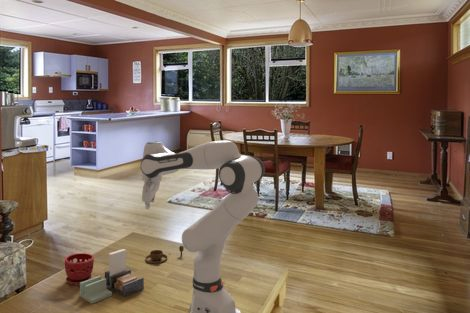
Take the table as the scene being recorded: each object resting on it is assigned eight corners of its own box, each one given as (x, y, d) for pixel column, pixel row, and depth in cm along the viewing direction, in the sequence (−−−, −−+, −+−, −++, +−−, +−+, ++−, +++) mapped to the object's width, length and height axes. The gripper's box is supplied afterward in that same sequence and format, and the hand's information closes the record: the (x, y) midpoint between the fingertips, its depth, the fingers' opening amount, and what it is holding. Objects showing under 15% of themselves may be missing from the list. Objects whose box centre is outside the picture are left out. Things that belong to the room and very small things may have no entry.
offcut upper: (137, 281, 186) (136, 277, 185) (124, 286, 180) (124, 282, 180) (129, 277, 189) (129, 273, 189) (116, 282, 184) (116, 278, 184)
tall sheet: (126, 279, 192) (125, 249, 190) (112, 285, 186) (111, 254, 184) (124, 278, 193) (123, 248, 191) (109, 283, 187) (108, 253, 185)
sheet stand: (112, 295, 179) (111, 281, 178) (91, 303, 172) (91, 289, 171) (99, 288, 186) (99, 275, 185) (79, 296, 178) (79, 282, 177)
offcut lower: (139, 285, 186) (139, 281, 186) (123, 291, 179) (123, 287, 179) (130, 280, 191) (130, 276, 190) (114, 287, 184) (114, 283, 184)
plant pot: (78, 289, 184) (77, 265, 182) (59, 282, 190) (58, 259, 189) (100, 278, 195) (99, 255, 194) (81, 272, 202) (80, 250, 200)
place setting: (150, 253, 230) (150, 244, 229) (184, 255, 228) (184, 245, 228) (141, 266, 212) (141, 255, 211) (178, 268, 211) (178, 257, 210)
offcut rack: (143, 288, 186) (143, 273, 185) (123, 297, 178) (123, 281, 177) (124, 279, 196) (124, 264, 194) (105, 286, 187) (104, 271, 186)
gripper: (153, 183, 169) (151, 213, 172) (162, 171, 189) (160, 198, 192) (139, 181, 169) (137, 212, 172) (149, 170, 189) (147, 197, 192)
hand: (149, 205), depth 182 cm, fingers open, 8 cm apart
